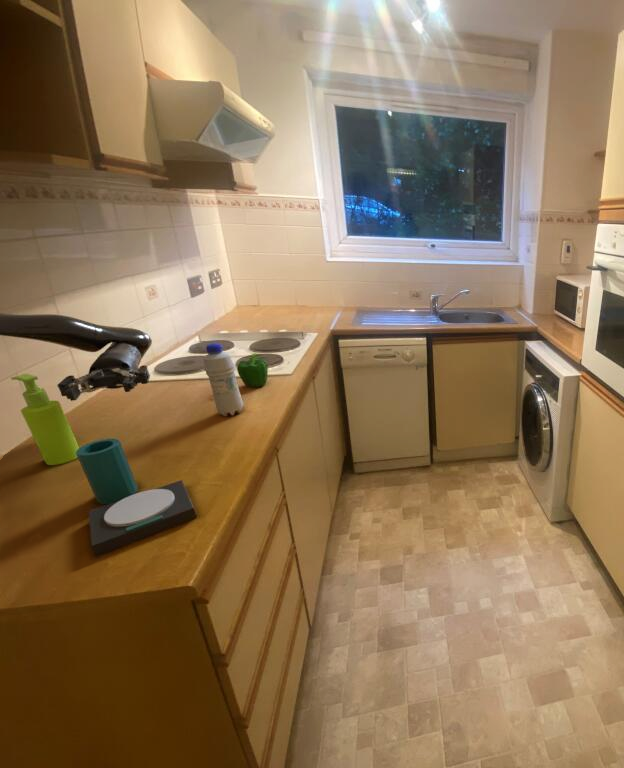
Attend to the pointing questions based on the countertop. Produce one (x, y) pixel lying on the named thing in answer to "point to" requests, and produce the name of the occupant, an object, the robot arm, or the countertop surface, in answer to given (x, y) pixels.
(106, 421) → the countertop surface
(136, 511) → the scale
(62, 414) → the soap dispenser
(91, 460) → the jar
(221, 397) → the bottle
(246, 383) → the bell pepper
